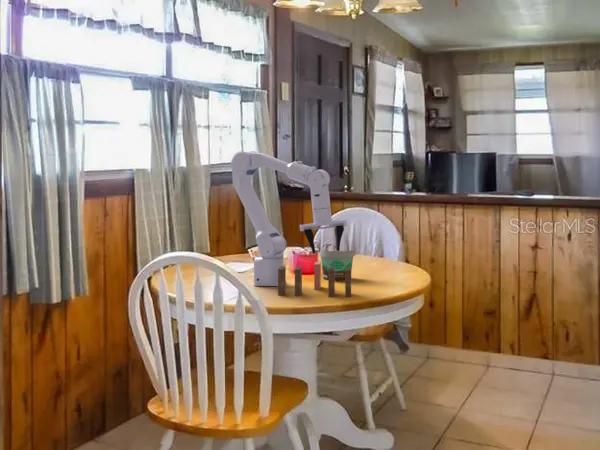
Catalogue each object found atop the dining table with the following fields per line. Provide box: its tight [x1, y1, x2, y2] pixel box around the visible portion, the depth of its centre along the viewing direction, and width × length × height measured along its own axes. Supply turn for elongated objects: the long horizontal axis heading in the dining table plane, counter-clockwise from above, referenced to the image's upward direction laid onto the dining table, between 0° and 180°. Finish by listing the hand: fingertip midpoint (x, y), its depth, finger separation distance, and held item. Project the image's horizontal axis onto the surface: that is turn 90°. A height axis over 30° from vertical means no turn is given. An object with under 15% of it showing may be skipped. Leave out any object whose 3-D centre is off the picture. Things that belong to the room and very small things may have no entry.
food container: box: [318, 248, 356, 282], centre depth 237 cm, size 12×6×10 cm, turn 101°
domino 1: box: [277, 266, 287, 297], centre depth 214 cm, size 2×5×8 cm, turn 174°
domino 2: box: [294, 266, 303, 297], centre depth 213 cm, size 2×5×8 cm, turn 174°
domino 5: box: [344, 268, 352, 298], centre depth 212 cm, size 2×5×8 cm, turn 174°
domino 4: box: [327, 267, 336, 298], centre depth 212 cm, size 2×5×8 cm, turn 174°
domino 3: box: [313, 261, 322, 291], centre depth 223 cm, size 2×5×8 cm, turn 174°
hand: (326, 251), depth 222 cm, fingers open, 7 cm apart
